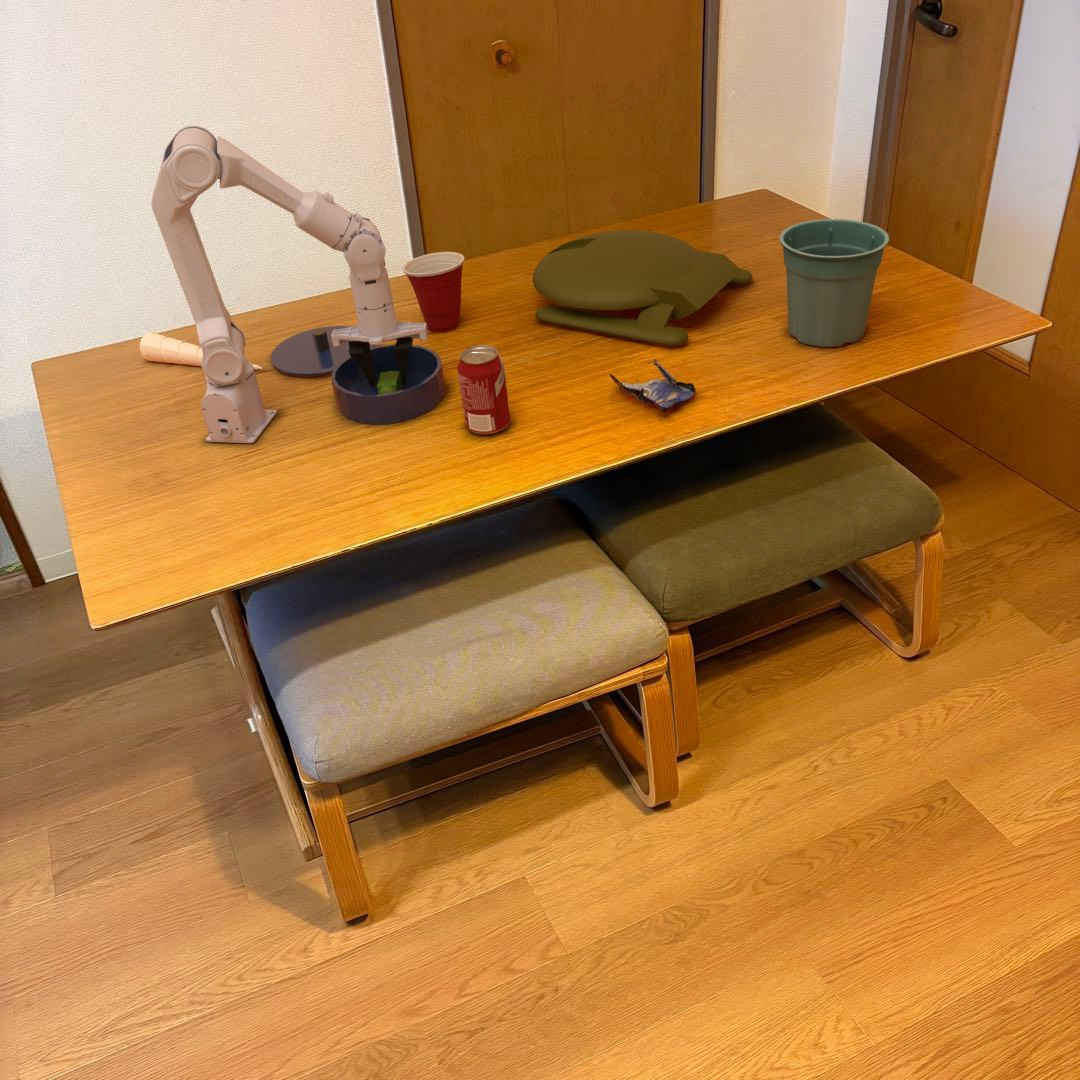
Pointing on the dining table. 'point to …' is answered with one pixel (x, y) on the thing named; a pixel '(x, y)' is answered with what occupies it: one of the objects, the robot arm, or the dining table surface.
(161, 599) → the dining table surface
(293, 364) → the pan lid
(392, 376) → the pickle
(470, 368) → the soda can
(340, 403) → the pan
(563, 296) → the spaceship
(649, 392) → the snack package
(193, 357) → the unicorn horn
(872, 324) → the dining table surface
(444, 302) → the plastic cup
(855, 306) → the flower pot
